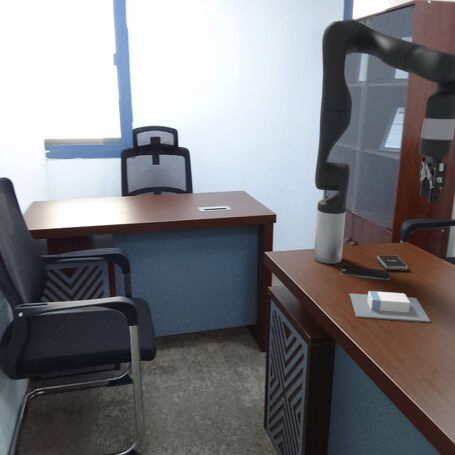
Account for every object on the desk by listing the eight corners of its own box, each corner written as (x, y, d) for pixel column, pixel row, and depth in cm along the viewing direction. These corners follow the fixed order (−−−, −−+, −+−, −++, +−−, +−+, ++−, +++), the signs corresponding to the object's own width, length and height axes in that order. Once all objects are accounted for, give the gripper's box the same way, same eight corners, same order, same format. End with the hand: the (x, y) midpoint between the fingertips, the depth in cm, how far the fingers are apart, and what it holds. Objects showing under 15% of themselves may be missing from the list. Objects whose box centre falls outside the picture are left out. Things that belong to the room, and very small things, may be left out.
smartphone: (341, 265, 153) (389, 270, 149) (341, 267, 154) (389, 272, 150) (340, 273, 146) (390, 279, 142) (340, 276, 147) (390, 281, 143)
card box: (403, 303, 126) (404, 293, 125) (408, 312, 120) (410, 302, 120) (367, 300, 127) (368, 290, 126) (370, 309, 122) (371, 299, 121)
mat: (349, 294, 132) (349, 293, 132) (415, 299, 129) (416, 297, 129) (356, 317, 118) (356, 315, 118) (430, 322, 116) (430, 321, 116)
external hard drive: (386, 272, 150) (386, 266, 150) (376, 260, 161) (376, 254, 160) (407, 272, 150) (408, 266, 150) (396, 260, 161) (396, 255, 160)
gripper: (462, 139, 111) (452, 206, 115) (443, 135, 125) (435, 194, 129) (429, 139, 112) (420, 204, 116) (414, 134, 126) (407, 193, 130)
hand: (428, 199), depth 123 cm, fingers open, 8 cm apart
